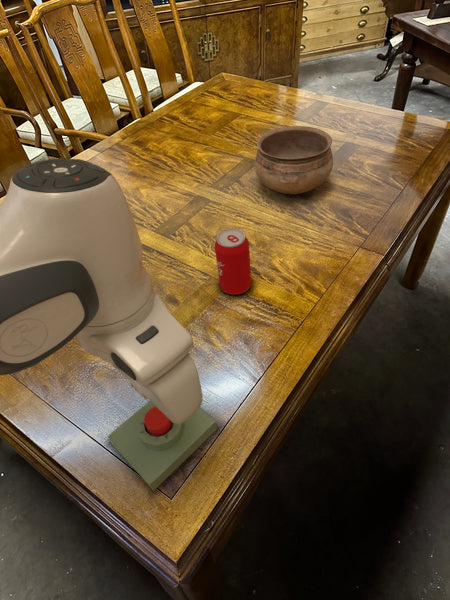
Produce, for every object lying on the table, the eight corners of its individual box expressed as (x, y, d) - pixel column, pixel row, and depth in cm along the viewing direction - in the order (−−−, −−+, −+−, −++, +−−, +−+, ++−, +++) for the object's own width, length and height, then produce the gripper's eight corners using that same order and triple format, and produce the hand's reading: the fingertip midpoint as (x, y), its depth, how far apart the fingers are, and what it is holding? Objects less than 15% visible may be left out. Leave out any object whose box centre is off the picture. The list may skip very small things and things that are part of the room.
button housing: (153, 491, 56) (147, 478, 53) (111, 443, 61) (103, 430, 58) (217, 429, 61) (214, 415, 58) (173, 390, 67) (168, 375, 64)
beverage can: (236, 271, 86) (231, 222, 77) (258, 285, 82) (255, 235, 74) (213, 286, 83) (206, 238, 75) (235, 301, 79) (230, 252, 71)
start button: (157, 441, 57) (155, 434, 56) (141, 424, 59) (138, 418, 58) (177, 422, 58) (175, 416, 57) (161, 407, 60) (159, 401, 59)
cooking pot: (328, 217, 96) (334, 168, 88) (248, 213, 100) (245, 166, 92) (331, 164, 113) (336, 119, 105) (262, 163, 117) (261, 119, 109)
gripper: (39, 285, 47) (78, 361, 56) (151, 389, 36) (177, 460, 45) (87, 258, 50) (117, 334, 59) (204, 345, 39) (218, 421, 48)
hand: (144, 389), depth 52 cm, fingers closed
